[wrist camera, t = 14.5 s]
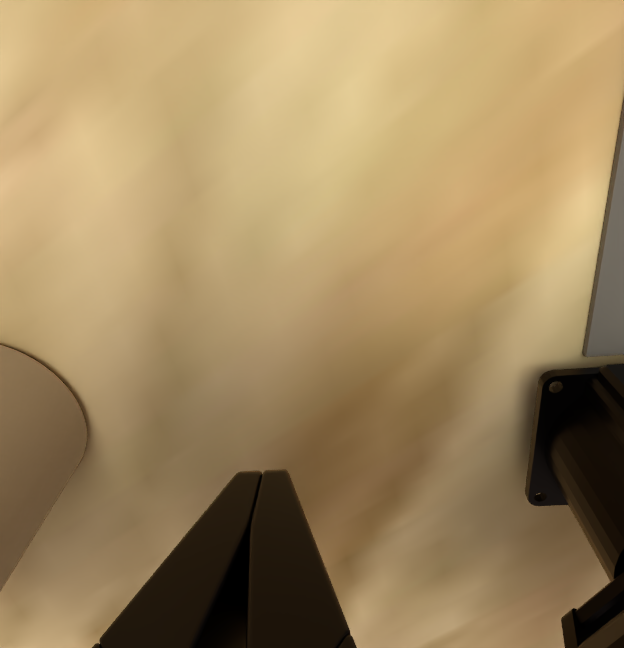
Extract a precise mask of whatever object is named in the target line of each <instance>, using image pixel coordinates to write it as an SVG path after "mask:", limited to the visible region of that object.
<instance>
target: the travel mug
mask: <svg viewBox="0 0 624 648" xmlns="http://www.w3.org/2000/svg"><path fill="white" fill-rule="evenodd" d="M86 444H87V428H86V422H85V419H84V415H83V413H82V410H81V408H80V406H79V404H78V402H77V400H76V399H75V397H74V396H73V394H72V393H71V391H70V390H69V389H68V388H67V386H66V385H65V384H64V383H63V382H62V381H61V380H60V379H59V378H58V377H57V376H56V375H55V374H54V373H53V372H51V371H50V370H49V369H47V368H46V367H45V366H43V365H42V364H40V363H39V362H37V361H36V360H34V359H32V358H31V357H29V356H27V355H25V354H23V353H21V352H19V351H16V350H14V349H11V348H8V347H5V346H2V345H0V591H1V589H2V588H3V586H4V585H5V583H6V581H7V580H8V578H9V576H10V575H11V573H12V572H13V570H14V568H15V567H16V565H17V563H18V562H19V560H20V559H21V557H22V555H23V554H24V552H25V550H26V549H27V547H28V546H29V544H30V542H31V541H32V539H33V537H34V536H35V534H36V533H37V531H38V529H39V528H40V526H41V524H42V523H43V521H44V520H45V518H46V516H47V515H48V513H49V511H50V510H51V508H52V507H53V505H54V503H55V502H56V500H57V498H58V497H59V495H60V494H61V492H62V490H63V489H64V487H65V485H66V484H67V482H68V481H69V479H70V477H71V476H72V474H73V472H74V471H75V469H76V468H77V466H78V464H79V463H80V461H81V459H82V457H83V455H84V452H85V449H86Z"/></svg>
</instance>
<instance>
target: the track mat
mask: <svg viewBox="0 0 624 648" xmlns="http://www.w3.org/2000/svg"><path fill="white" fill-rule="evenodd" d="M583 354H584V355H585V356H586V357H593V356H610V355H624V101H623V108H622V114H621V120H620V126H619V132H618V138H617V145H616V151H615V157H614V163H613V169H612V175H611V182H610V188H609V194H608V200H607V206H606V212H605V219H604V225H603V231H602V237H601V243H600V249H599V256H598V262H597V268H596V274H595V280H594V287H593V293H592V299H591V305H590V311H589V317H588V324H587V330H586V336H585V342H584V348H583Z"/></svg>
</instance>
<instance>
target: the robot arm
mask: <svg viewBox="0 0 624 648" xmlns="http://www.w3.org/2000/svg"><path fill="white" fill-rule="evenodd" d="M556 381H558V384H557V385H555V386H553V387H549V386H550V384H552V383H553V382H556ZM538 493H540V494H538ZM525 494H526V496H527V498H528V501H529V502H530V503H531V504H532V505H535V506H551V505H569V507H570V508H571V510H572V512H573V514H574V516H575V517H576V519H577V521H578V523H579V525H580V527H581V528H582V530H583V532H584V534H585V536H586V538H587V539H588V541H589V543H590V545H591V547H592V548H593V550H594V552H595V554H596V556H597V558H598V559H599V561H600V563H601V565H602V567H603V569H604V570H605V572H606V574H607V576H608V578H609V579H610V581H611V582H610V583H609V584H608V585H606V586H605V587H604V588H603V589H602V590H600V591H599V592H598V593H597V594H595V595H594V596H593V597H592V598H591V599H589V600H588V601H587V602H586V603H585V604H583V605H582V606H581V607H580V608H578V609H574V608H573V609H572V610H571V611H569V612H568V613H567V614H566V615H565V616H563V617H562V619H561V622H562V629H563V636H564V644H565V648H624V364H614V365H606V366H604V367H597V368H581V369H564V370H552V371H548V372H546V373H544V374H543V375H542V376H541V377H540V379H539V382H538V389H537V397H536V406H535V414H534V422H533V430H532V438H531V446H530V454H529V463H528V471H527V479H526V487H525ZM536 494H538V495H536ZM92 648H357V647H356V645H355V642H354V639H353V637H352V636H351V635H350V630H349V627H348V625H347V622H346V620H345V617H344V614H343V612H342V609H341V607H340V604H339V602H338V599H337V596H336V594H335V591H334V589H333V586H332V584H331V581H330V578H329V576H328V573H327V571H326V568H325V566H324V563H323V560H322V558H321V555H320V553H319V550H318V548H317V545H316V542H315V540H314V537H313V535H312V532H311V529H310V527H309V524H308V522H307V519H306V517H305V514H304V511H303V509H302V506H301V504H300V501H299V499H298V496H297V493H296V491H295V488H294V486H293V483H292V481H291V478H290V475H289V473H288V471H287V470H284V469H282V470H266V471H264V472H263V474H262V472H260V471H243V472H239V473H237V474H236V475H235V476H234V477H233V478H232V480H231V481H230V482H229V483H228V484H227V486H226V487H225V488H224V489H223V490H222V492H221V493H220V494H219V495H218V496H217V498H216V499H215V500H214V501H213V502H212V504H211V505H210V506H209V507H208V509H207V510H206V511H205V512H204V513H203V515H202V516H201V517H200V518H199V519H198V521H197V522H196V523H195V524H194V525H193V527H192V528H191V529H190V530H189V531H188V533H187V534H186V535H185V536H184V538H183V539H182V540H181V541H180V542H179V544H178V545H177V546H176V547H175V548H174V550H173V551H172V552H171V553H170V554H169V556H168V557H167V558H166V559H165V560H164V562H163V563H162V564H161V565H160V567H159V568H158V569H157V570H156V571H155V573H154V574H153V575H152V576H151V577H150V579H149V580H148V581H147V582H146V583H145V585H144V586H143V587H142V588H141V589H140V591H139V592H138V593H137V594H136V595H135V597H134V598H133V599H132V600H131V602H130V603H129V604H128V605H127V606H126V608H125V609H124V610H123V611H122V612H121V614H120V615H119V616H118V617H117V618H116V620H115V621H114V622H113V623H112V624H111V626H110V627H109V628H108V629H107V631H106V632H105V633H104V634H103V635H102V637H101V638H100V644H99V643H96V644H95V645H94V646H93V647H92Z"/></svg>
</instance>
